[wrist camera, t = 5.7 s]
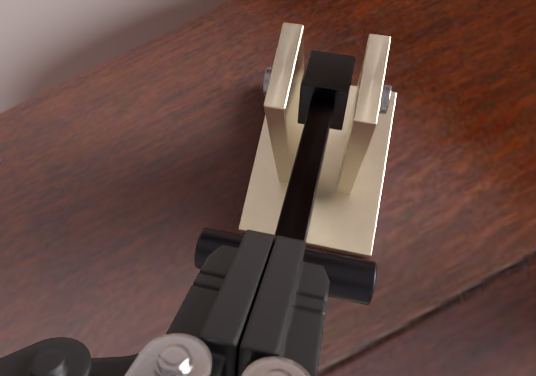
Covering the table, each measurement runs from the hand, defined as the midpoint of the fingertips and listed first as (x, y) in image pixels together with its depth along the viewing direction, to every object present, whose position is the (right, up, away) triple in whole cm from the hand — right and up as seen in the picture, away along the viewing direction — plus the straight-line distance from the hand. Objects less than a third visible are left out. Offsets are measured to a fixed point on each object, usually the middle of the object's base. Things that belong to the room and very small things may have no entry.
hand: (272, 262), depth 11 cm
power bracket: (+4, +4, +21) cm, 21 cm away
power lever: (+2, +2, +8) cm, 9 cm away
